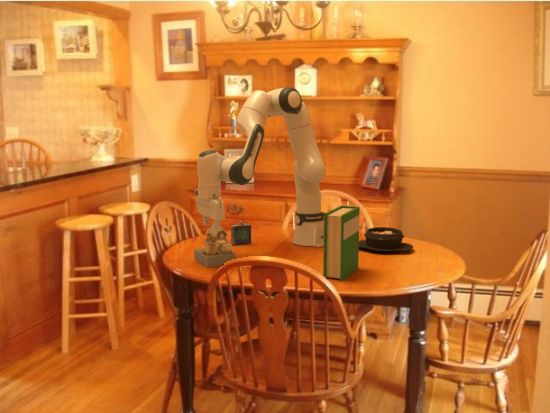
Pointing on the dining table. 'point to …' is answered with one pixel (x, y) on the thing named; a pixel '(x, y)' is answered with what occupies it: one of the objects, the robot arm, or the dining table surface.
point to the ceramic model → (215, 235)
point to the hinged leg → (224, 246)
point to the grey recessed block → (213, 257)
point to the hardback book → (341, 242)
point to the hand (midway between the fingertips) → (211, 227)
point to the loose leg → (210, 249)
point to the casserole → (384, 240)
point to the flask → (241, 234)
